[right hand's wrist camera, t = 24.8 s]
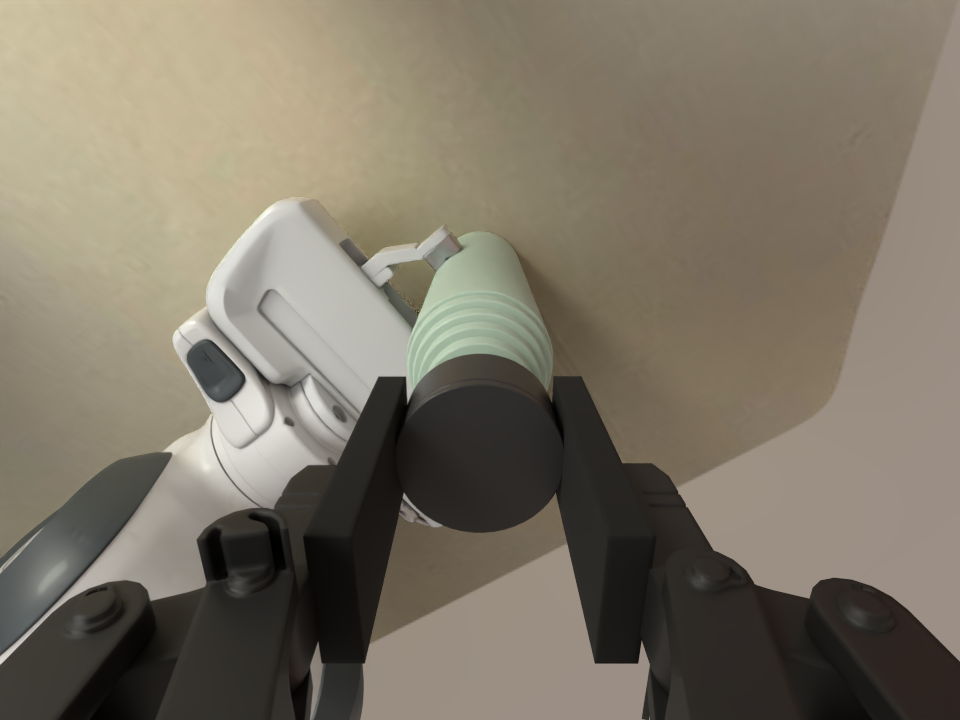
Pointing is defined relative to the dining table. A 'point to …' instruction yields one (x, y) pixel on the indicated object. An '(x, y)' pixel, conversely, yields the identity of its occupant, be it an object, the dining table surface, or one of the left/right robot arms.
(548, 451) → the cap
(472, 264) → the bottle
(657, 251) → the dining table surface
